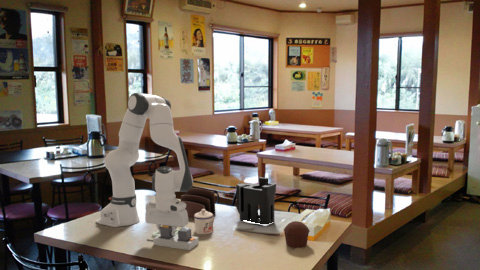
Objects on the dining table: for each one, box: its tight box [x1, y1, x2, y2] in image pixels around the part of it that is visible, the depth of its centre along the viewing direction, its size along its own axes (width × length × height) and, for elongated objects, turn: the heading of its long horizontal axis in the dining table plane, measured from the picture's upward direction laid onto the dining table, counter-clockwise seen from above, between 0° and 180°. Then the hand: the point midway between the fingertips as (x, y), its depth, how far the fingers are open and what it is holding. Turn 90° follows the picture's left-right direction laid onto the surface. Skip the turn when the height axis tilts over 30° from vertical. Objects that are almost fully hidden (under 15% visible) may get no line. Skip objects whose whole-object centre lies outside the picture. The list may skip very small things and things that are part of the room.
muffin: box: [283, 220, 311, 249], centre depth 191 cm, size 12×11×10 cm
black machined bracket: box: [235, 176, 277, 224], centre depth 223 cm, size 12×21×22 cm, turn 54°
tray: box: [151, 228, 180, 238], centre depth 205 cm, size 10×10×2 cm
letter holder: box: [180, 187, 216, 219], centre depth 236 cm, size 10×20×14 cm, turn 58°
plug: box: [160, 225, 174, 239], centre depth 193 cm, size 4×4×8 cm
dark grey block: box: [178, 226, 192, 242], centre depth 189 cm, size 4×4×8 cm
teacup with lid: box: [193, 209, 215, 235], centre depth 209 cm, size 12×9×12 cm
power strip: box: [146, 234, 200, 251], centre depth 192 cm, size 24×8×5 cm, turn 68°
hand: (167, 234), depth 193 cm, fingers open, 4 cm apart
